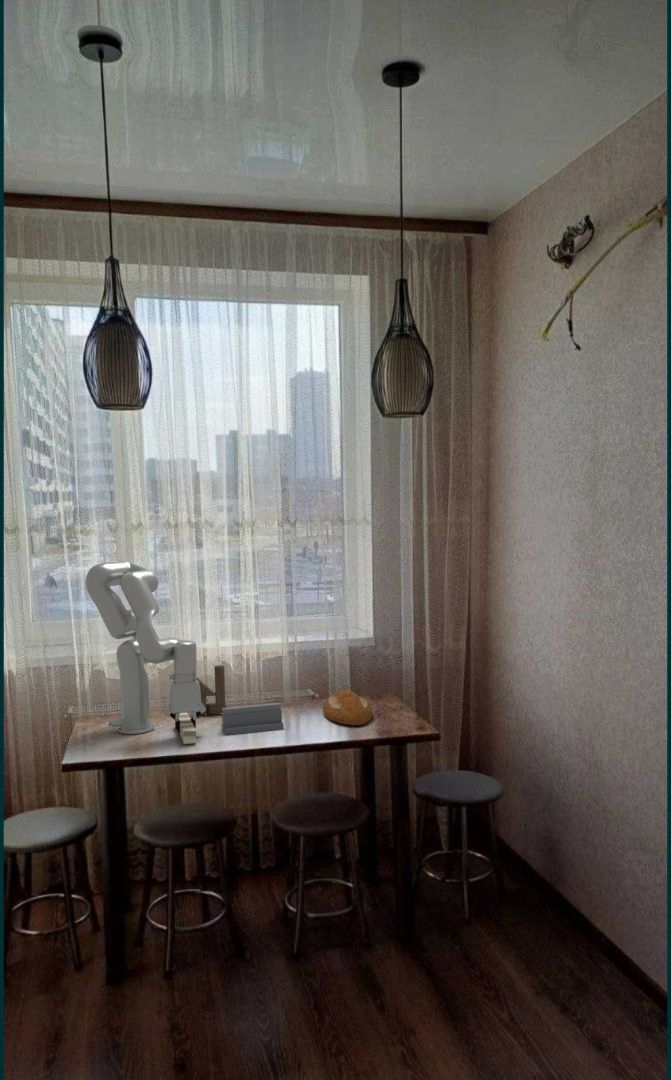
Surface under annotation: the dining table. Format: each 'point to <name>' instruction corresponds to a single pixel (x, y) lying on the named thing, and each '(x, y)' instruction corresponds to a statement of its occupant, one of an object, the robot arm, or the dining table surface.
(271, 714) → the ridge block
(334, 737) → the dining table surface
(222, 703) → the wooden block
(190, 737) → the birch bar
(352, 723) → the bread
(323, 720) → the dining table surface
